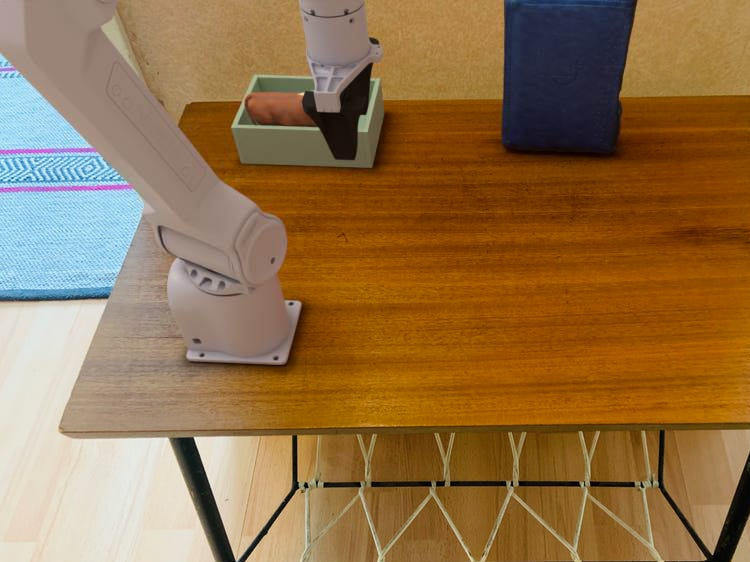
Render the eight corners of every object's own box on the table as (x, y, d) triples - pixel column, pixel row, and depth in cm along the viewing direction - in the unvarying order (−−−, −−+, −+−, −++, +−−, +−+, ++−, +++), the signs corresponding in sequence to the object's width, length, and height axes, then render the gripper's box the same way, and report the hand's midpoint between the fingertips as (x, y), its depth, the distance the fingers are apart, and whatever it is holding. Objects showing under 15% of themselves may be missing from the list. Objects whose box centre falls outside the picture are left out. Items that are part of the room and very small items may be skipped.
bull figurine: (361, 163, 91) (352, 102, 85) (251, 154, 92) (234, 92, 86) (369, 141, 94) (361, 80, 88) (262, 132, 95) (247, 71, 89)
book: (616, 135, 96) (643, -29, 80) (618, 162, 93) (647, -5, 77) (501, 130, 97) (505, -34, 81) (498, 156, 93) (503, -10, 78)
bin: (241, 163, 92) (230, 127, 88) (262, 110, 99) (253, 74, 95) (372, 168, 92) (367, 131, 88) (384, 114, 99) (380, 78, 95)
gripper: (365, 45, 63) (381, 181, 74) (387, -35, 72) (399, 95, 83) (279, 43, 63) (307, 178, 74) (312, -37, 72) (333, 93, 83)
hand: (351, 134), depth 78 cm, fingers open, 7 cm apart
